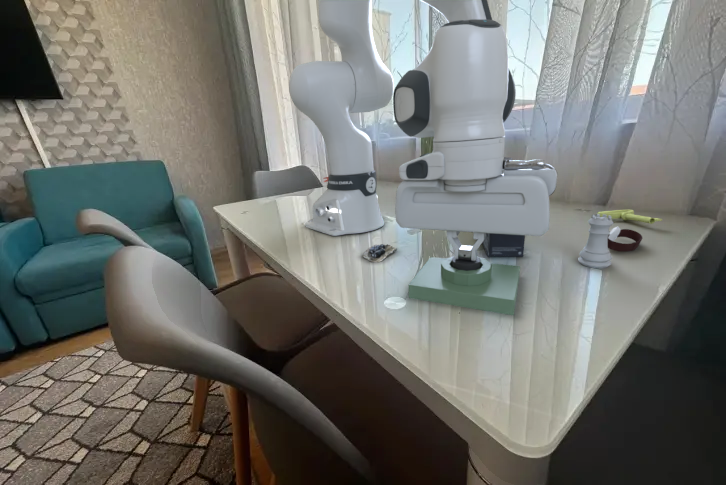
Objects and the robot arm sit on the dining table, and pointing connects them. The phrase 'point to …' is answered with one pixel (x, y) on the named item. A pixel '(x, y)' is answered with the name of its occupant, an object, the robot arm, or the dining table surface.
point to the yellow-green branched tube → (628, 216)
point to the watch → (623, 233)
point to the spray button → (466, 264)
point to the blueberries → (378, 252)
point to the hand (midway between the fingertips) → (465, 259)
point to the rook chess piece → (597, 243)
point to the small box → (504, 245)
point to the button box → (467, 285)
